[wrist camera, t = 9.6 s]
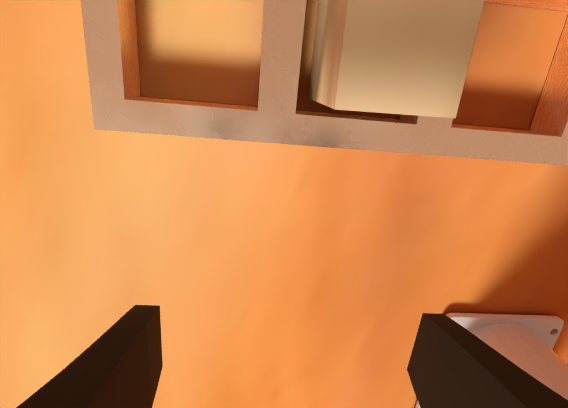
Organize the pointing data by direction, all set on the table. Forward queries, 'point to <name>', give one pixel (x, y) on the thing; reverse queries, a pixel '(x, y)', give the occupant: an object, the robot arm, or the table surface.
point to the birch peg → (393, 55)
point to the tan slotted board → (283, 97)
